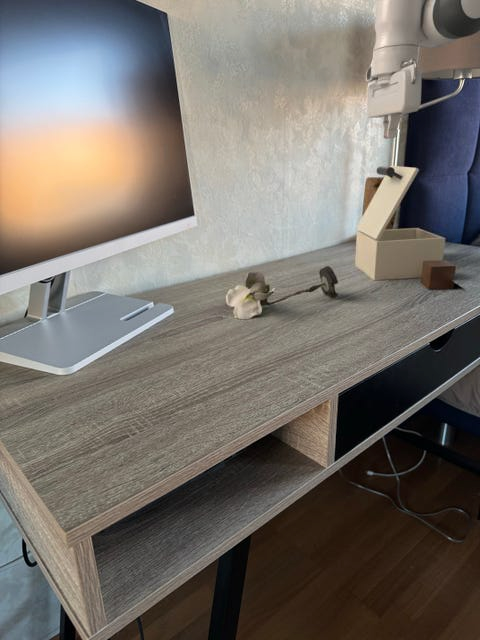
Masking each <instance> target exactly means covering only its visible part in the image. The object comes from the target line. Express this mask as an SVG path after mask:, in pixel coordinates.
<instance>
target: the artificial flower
mask: <svg viewBox="0 0 480 640" xmlns="http://www.w3.org/2000/svg"><path fill="white" fill-rule="evenodd" d="M318 271H319V272H318V274H319V278H320V282H321V283H320V284H316V285H312V286H310V287H309V288H306V289H302V290H298V291H296V292H295V293H292V294H288V295H286V296H283V297H282V298H279V299H276V300H275V301H272V302H271V301H270V302H268V299H269V298H270V297H271V295H272V294H274V291H275V290H276V287H273V288H272V289H271V288H270V284H269V283H268V284H267V283H266V280H265V275H264V273H263V272H261V271H255V272H248V273H247V274H246V276H245V277H246V278H245V280H244V282H243V283H244V284H237V285H236V286H235V288H230V289H228V292H227V294H226V295H225V301H226V305H227V306H229V307H231V308H232V307H234V308H233V311H232V312H233V315H234V318H235V319H239V320H249V319H252V318H253V317H256V316H260V315H262V312H263V306H271V305H275V304H276V303H279V302H281V301H284V300H287V299H288V298H291V297H293V296H294V297H295V296H296V295H300V294H302V293H312V292H315V291H316V290H318V289H319V288H321V291H322V293H323V294H324V295H325V296H328V297H329V298H331V299H333V298H334V299H336V298H337V297H338V296H339V292H337V291H336V286H335V285H338V284H339V280H338V278H337V275H336V273H335V271H334V270H333V268H332V267H330V266H329V265H326V266H324V267H323V268H320V269H319V270H318Z"/></svg>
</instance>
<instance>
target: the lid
mask: <svg viewBox="0 0 480 640" xmlns="http://www.w3.org/2000/svg"><path fill="white" fill-rule="evenodd" d="M419 171H420V169H419V168H417V167H409V166H398V165H390V166H383V165H380V166H377V168H376V174H377V175H380V176H383V177H384V179H383V181H382V182H381V184H380V186H379V188H378V190H377V191H376V193H375V195H374V197H373V199H372V200H371V202H370V204H369V206H368V208H367V209H366V211H365V213H364V215H363V217H362V216H361V218H360V220H359V222H358V223H357V226H356V227H355V230H357V231H361V232H363V233H365V234H367V235H369V236H370V237H372V238H374V239H376V240H379V239H380V237H381V235H382V233H383V232H384V230H385V228H386V227H387V225H388V223H389V221H390V220H391V218H392V216H393V214H394V213H395V211H396V212H397V209H398V207H399V206H400V204H401V202H402V201H403V199H404V197H405V195H406V194H407V192H408V190H409V189H410V186H411V185H412V183H413V182H414V180H415V178H416V177H417V175H418V173H419Z"/></svg>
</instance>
